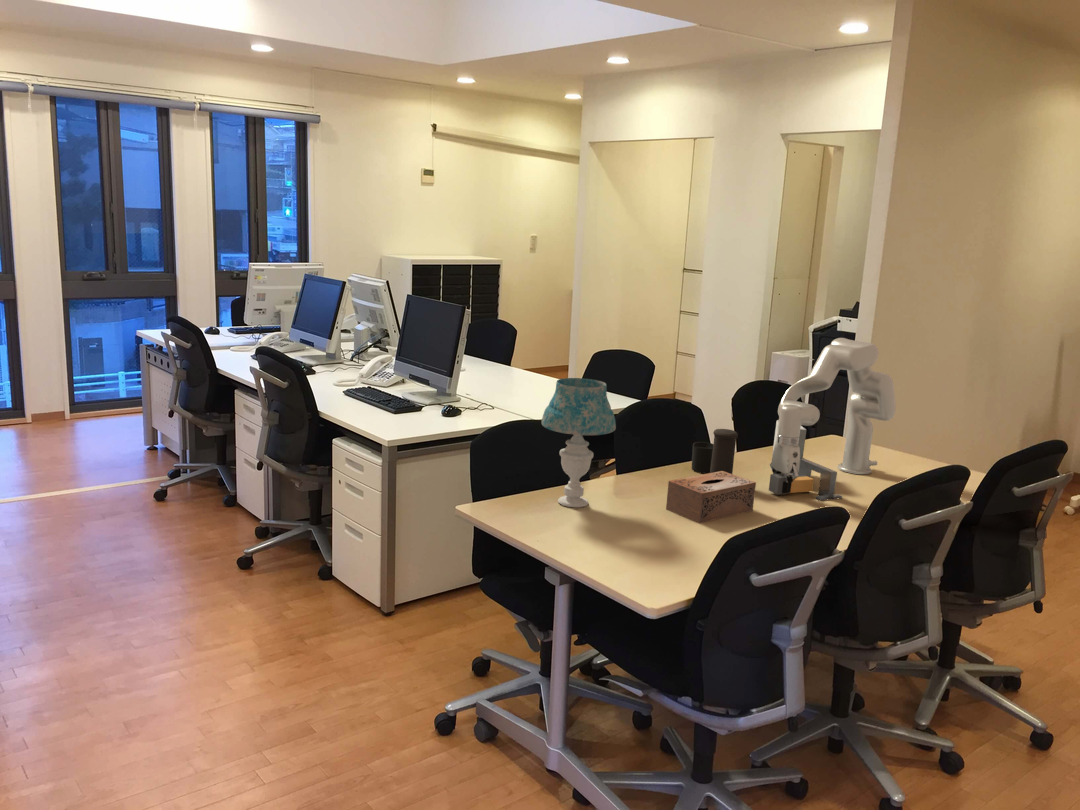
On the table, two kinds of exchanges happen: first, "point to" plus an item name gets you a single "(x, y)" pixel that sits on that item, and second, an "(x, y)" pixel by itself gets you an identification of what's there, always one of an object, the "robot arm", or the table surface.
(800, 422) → the robot arm
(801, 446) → the hard drive box
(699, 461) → the pen holder
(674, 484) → the tissue box cover
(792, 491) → the plug
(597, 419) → the table lamp
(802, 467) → the bracket
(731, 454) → the container
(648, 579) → the table surface
